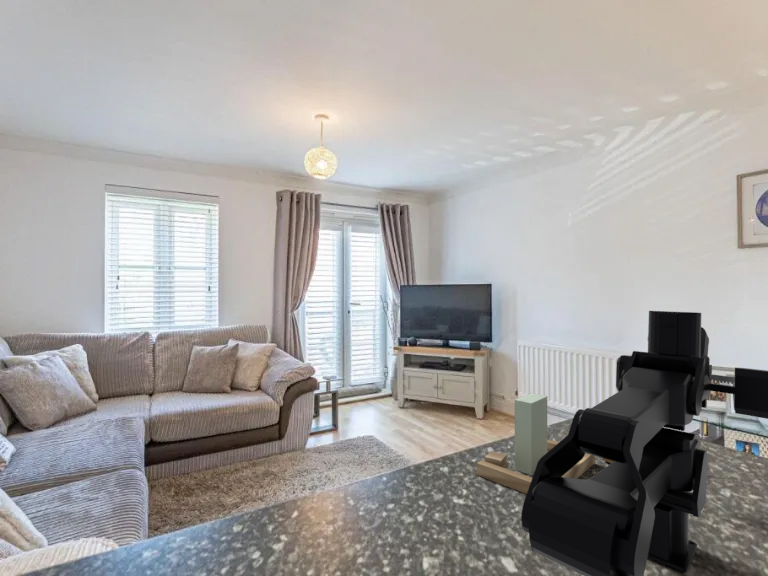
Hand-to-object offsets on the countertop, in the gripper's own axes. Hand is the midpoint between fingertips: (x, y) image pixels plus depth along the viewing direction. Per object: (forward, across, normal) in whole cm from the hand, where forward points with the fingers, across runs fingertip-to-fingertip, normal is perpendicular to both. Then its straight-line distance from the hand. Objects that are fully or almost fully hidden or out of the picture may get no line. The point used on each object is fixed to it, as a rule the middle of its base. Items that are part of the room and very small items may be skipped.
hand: (698, 379), depth 67 cm
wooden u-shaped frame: (-14, +20, +18) cm, 30 cm away
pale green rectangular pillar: (-14, +21, +18) cm, 31 cm away
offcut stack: (-19, +25, +18) cm, 36 cm away
